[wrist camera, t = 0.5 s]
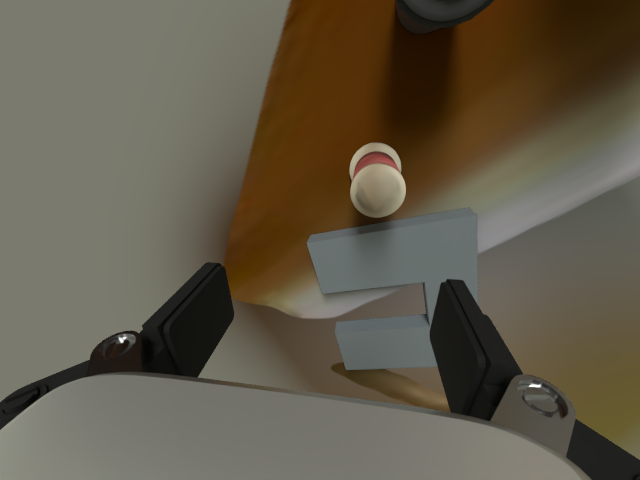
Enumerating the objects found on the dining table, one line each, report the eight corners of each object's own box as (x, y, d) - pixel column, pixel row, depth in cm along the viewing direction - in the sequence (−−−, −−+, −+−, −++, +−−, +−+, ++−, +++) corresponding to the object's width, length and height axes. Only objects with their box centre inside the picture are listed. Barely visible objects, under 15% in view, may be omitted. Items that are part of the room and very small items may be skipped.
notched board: (469, 207, 32) (476, 215, 29) (473, 351, 41) (479, 365, 39) (310, 235, 37) (306, 243, 34) (347, 357, 46) (346, 370, 44)
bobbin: (396, 136, 29) (409, 149, 21) (403, 186, 32) (417, 217, 23) (345, 149, 31) (336, 166, 22) (355, 196, 33) (351, 228, 24)
